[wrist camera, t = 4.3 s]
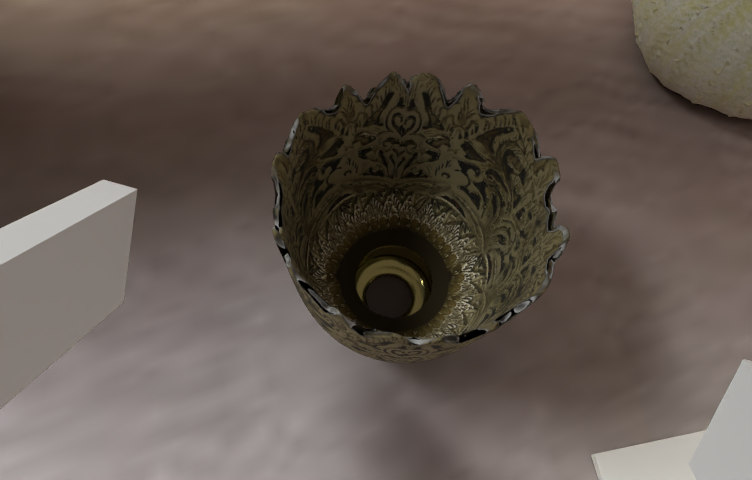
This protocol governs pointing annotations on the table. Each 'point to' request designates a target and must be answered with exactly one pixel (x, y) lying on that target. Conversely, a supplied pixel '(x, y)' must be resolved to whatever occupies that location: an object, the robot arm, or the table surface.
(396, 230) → the cup
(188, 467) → the table surface
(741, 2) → the sea urchin shell
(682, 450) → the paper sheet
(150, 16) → the table surface
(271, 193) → the table surface
